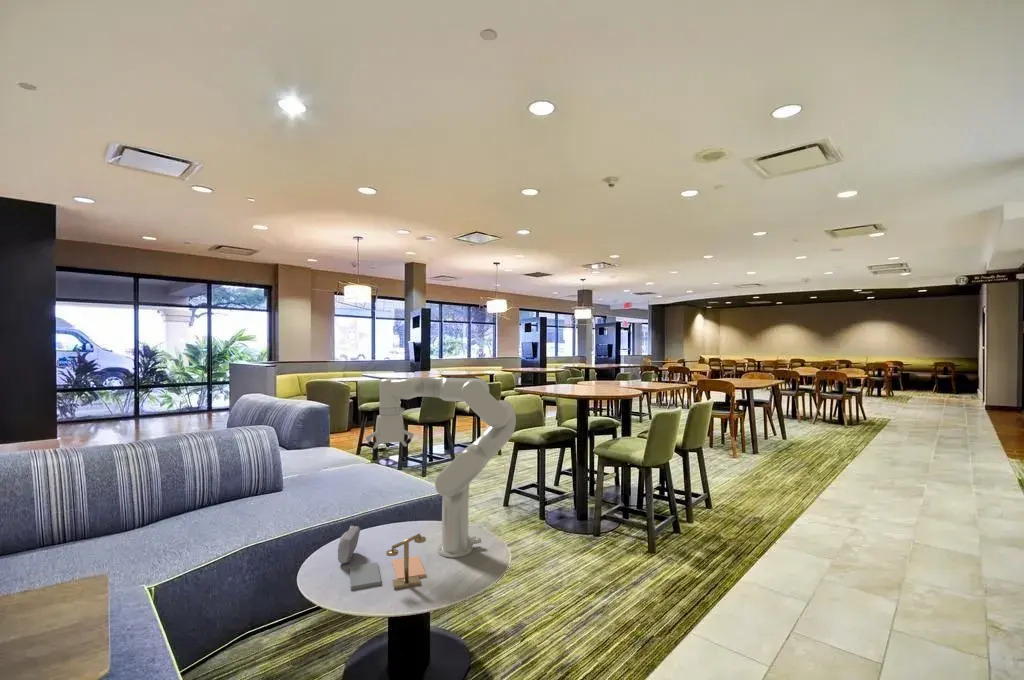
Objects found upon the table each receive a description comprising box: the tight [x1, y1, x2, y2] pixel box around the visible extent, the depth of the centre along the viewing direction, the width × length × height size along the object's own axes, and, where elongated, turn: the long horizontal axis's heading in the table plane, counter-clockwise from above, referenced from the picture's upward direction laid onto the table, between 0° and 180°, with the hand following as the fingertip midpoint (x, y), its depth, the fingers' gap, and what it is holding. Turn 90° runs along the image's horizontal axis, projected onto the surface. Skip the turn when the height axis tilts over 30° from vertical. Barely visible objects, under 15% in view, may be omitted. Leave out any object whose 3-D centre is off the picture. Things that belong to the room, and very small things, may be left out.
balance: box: [385, 533, 427, 591], centre depth 150 cm, size 12×4×16 cm, turn 110°
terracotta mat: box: [392, 555, 427, 580], centre depth 160 cm, size 9×14×1 cm, turn 20°
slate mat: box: [349, 561, 382, 591], centre depth 155 cm, size 9×14×1 cm, turn 20°
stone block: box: [337, 525, 361, 565], centre depth 168 cm, size 12×5×10 cm, turn 0°
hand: (389, 457), depth 178 cm, fingers open, 9 cm apart
